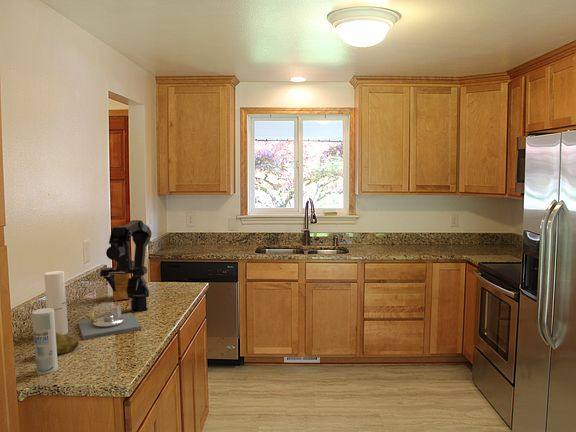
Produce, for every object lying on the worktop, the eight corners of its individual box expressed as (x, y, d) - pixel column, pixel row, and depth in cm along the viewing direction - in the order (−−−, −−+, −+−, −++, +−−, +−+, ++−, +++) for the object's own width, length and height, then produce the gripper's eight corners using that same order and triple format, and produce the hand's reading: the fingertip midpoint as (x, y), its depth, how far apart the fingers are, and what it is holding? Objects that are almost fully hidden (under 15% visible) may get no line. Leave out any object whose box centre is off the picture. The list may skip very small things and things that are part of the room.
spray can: (61, 365, 161) (57, 307, 159) (52, 373, 155) (48, 313, 153) (42, 366, 161) (37, 308, 159) (32, 374, 154) (27, 314, 153)
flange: (120, 314, 212) (120, 304, 211) (126, 323, 198) (126, 313, 198) (91, 319, 206) (90, 308, 206) (95, 329, 192) (94, 318, 192)
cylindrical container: (72, 331, 197) (67, 271, 194) (58, 336, 190) (54, 275, 188) (58, 329, 199) (54, 270, 197) (44, 335, 192) (39, 274, 190)
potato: (75, 355, 170) (74, 333, 170) (36, 359, 167) (34, 337, 167) (79, 346, 178) (78, 326, 178) (42, 350, 175) (40, 329, 175)
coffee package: (134, 294, 254) (132, 253, 252) (132, 300, 242) (129, 257, 240) (114, 295, 252) (112, 254, 250) (111, 301, 240) (108, 258, 238)
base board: (131, 315, 215) (130, 302, 215) (141, 329, 196) (140, 315, 195) (78, 324, 205) (77, 310, 205) (83, 339, 186) (82, 324, 185)
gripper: (149, 251, 214) (151, 285, 216) (108, 252, 214) (110, 287, 216) (142, 256, 203) (144, 292, 205) (98, 257, 203) (100, 293, 205)
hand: (125, 291), depth 208 cm, fingers open, 9 cm apart
